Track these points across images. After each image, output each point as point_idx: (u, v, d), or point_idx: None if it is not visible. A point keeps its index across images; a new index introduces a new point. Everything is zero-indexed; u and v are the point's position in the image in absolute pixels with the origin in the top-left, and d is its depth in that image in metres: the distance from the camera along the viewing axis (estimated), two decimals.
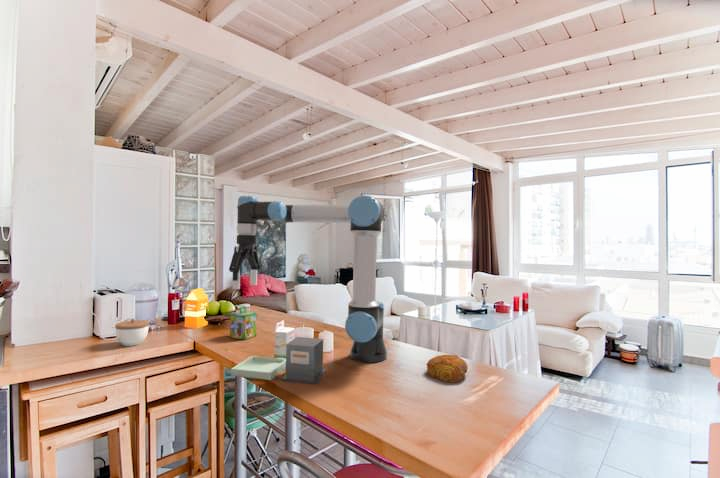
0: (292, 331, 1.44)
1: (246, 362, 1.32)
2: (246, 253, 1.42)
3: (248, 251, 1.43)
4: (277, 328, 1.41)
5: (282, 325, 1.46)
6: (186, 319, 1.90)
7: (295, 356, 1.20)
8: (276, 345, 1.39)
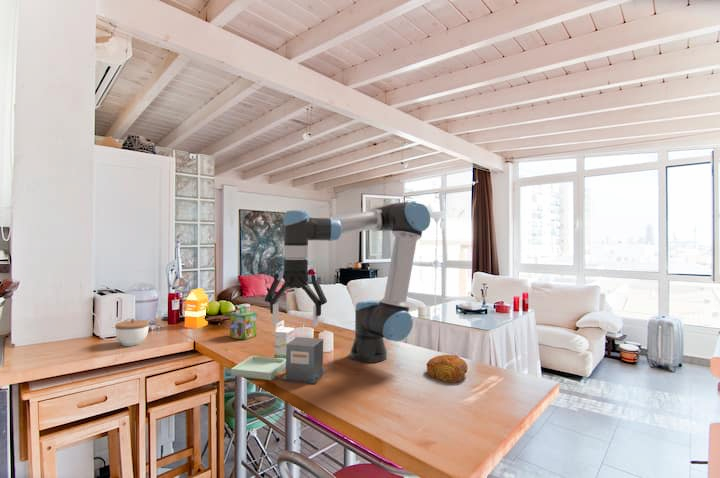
0: (292, 331, 1.44)
1: (246, 362, 1.32)
2: (285, 282, 1.14)
3: (288, 280, 1.13)
4: (277, 328, 1.41)
5: (282, 325, 1.46)
6: (186, 319, 1.90)
7: (295, 356, 1.20)
8: (276, 345, 1.39)
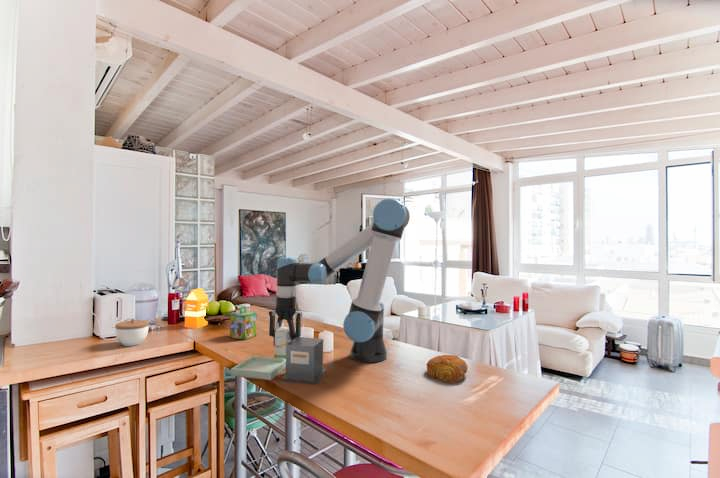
0: None
1: (246, 362, 1.32)
2: (278, 316, 1.42)
3: (280, 314, 1.41)
4: (277, 328, 1.41)
5: (282, 325, 1.46)
6: (186, 319, 1.90)
7: (295, 356, 1.20)
8: (276, 345, 1.39)
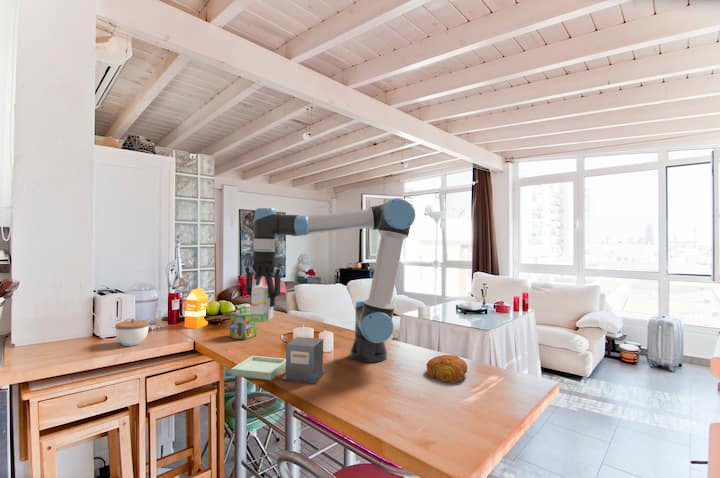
0: None
1: (246, 362, 1.32)
2: (256, 273, 1.29)
3: (257, 270, 1.28)
4: (254, 285, 1.28)
5: (260, 283, 1.33)
6: (186, 319, 1.90)
7: (295, 356, 1.20)
8: (253, 303, 1.26)
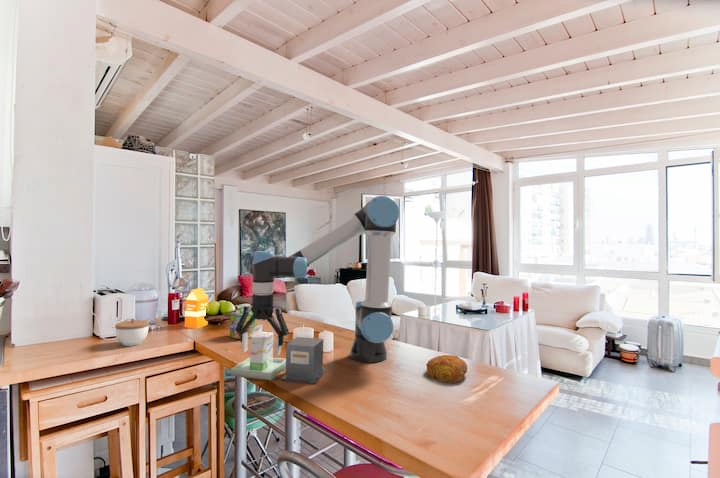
0: (270, 336, 1.31)
1: (246, 362, 1.32)
2: (253, 314, 1.29)
3: (255, 313, 1.28)
4: (253, 333, 1.28)
5: (260, 329, 1.33)
6: (186, 319, 1.90)
7: (295, 356, 1.20)
8: (252, 352, 1.26)
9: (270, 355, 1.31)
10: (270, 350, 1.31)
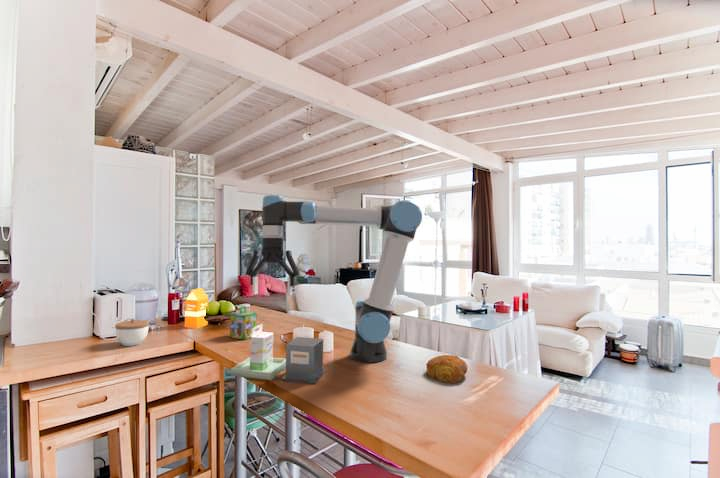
0: (270, 336, 1.31)
1: (246, 362, 1.32)
2: (263, 257, 1.32)
3: (266, 255, 1.31)
4: (253, 333, 1.28)
5: (260, 329, 1.33)
6: (186, 319, 1.90)
7: (295, 356, 1.20)
8: (252, 352, 1.26)
9: (270, 355, 1.31)
10: (270, 350, 1.31)
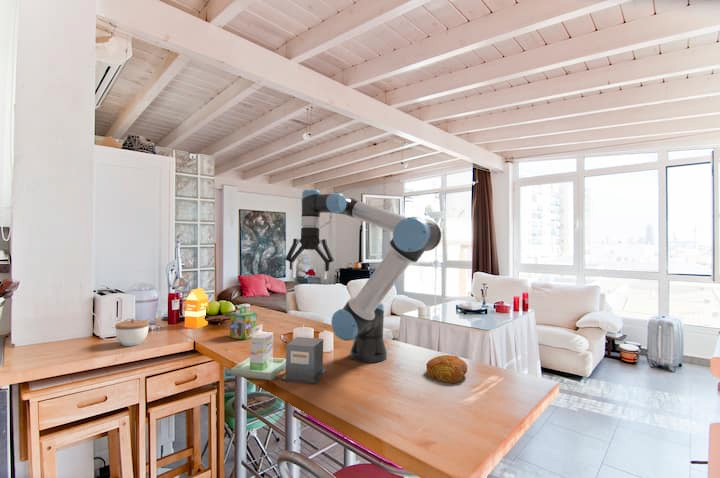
0: (270, 336, 1.31)
1: (246, 362, 1.32)
2: (302, 245, 1.47)
3: (304, 243, 1.47)
4: (253, 333, 1.28)
5: (260, 329, 1.33)
6: (186, 319, 1.90)
7: (295, 356, 1.20)
8: (252, 352, 1.26)
9: (270, 355, 1.31)
10: (270, 350, 1.31)
